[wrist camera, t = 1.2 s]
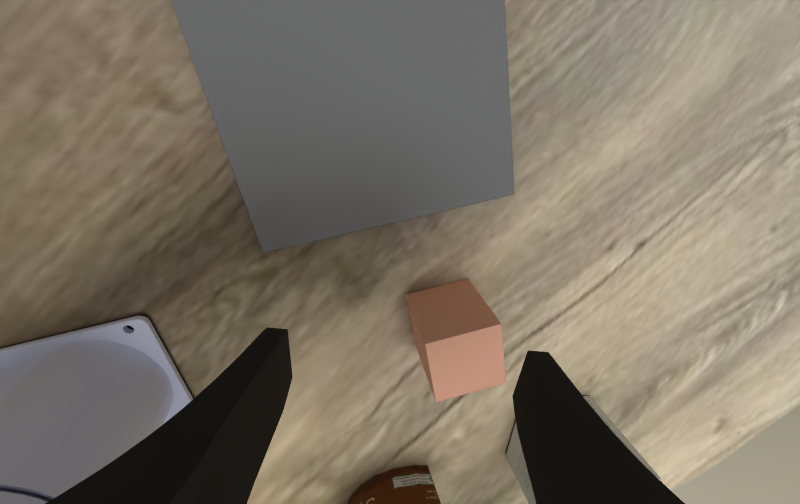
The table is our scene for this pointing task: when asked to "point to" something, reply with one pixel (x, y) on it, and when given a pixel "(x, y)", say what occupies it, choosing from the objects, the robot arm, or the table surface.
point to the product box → (519, 464)
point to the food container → (398, 488)
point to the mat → (355, 108)
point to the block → (456, 339)
